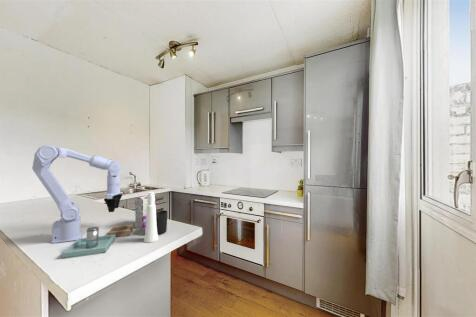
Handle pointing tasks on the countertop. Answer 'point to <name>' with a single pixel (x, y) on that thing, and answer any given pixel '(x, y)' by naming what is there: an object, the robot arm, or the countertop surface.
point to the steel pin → (92, 237)
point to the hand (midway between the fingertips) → (113, 209)
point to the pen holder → (161, 221)
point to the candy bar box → (141, 211)
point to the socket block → (121, 230)
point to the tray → (81, 250)
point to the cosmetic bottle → (151, 220)
